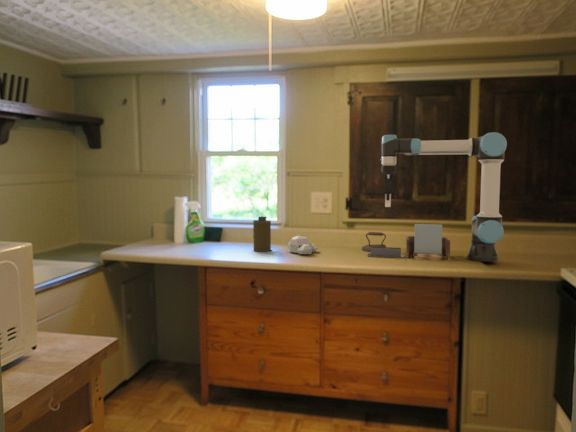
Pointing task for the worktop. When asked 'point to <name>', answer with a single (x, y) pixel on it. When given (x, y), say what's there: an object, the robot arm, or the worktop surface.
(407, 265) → the worktop surface
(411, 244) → the rack
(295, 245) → the rock
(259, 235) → the canister
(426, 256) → the offcut top
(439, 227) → the sheet
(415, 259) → the offcut bottom
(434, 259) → the offcut middle
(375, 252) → the grey block
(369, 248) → the clothes iron
